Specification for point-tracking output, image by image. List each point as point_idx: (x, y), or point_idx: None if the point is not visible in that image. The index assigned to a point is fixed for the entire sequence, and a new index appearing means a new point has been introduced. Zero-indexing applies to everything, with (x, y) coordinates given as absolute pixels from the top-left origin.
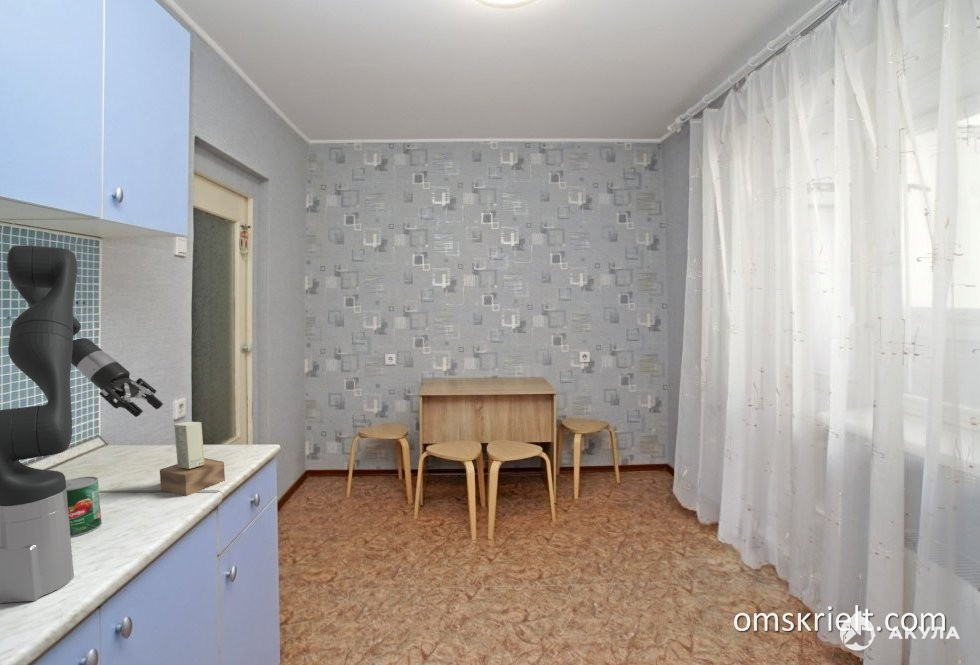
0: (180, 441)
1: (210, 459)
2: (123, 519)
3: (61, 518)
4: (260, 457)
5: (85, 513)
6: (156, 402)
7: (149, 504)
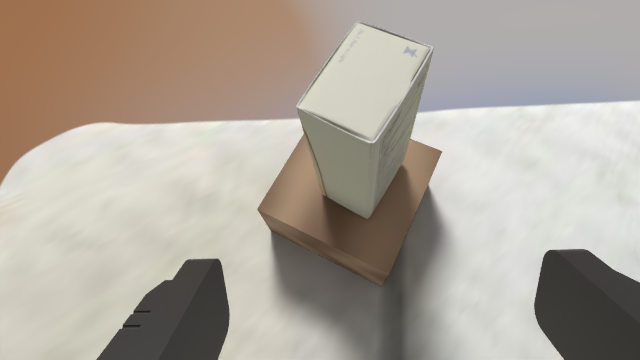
0: (396, 144)
1: (293, 154)
2: None
3: None
4: (144, 130)
5: None
6: (202, 314)
7: (487, 248)
